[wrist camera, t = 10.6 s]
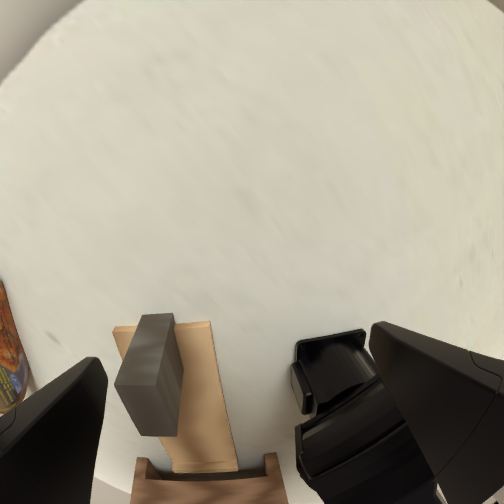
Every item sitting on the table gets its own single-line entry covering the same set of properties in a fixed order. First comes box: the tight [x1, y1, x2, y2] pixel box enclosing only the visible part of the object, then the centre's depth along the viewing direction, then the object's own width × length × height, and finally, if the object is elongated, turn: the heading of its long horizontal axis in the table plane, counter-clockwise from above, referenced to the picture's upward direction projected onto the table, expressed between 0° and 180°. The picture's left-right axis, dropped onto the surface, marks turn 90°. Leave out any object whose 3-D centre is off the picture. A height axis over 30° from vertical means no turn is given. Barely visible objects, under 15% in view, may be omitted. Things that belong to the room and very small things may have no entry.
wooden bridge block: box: [130, 452, 289, 504], centre depth 25 cm, size 18×10×8 cm, turn 94°
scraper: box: [112, 313, 239, 473], centre depth 20 cm, size 8×22×8 cm, turn 4°
